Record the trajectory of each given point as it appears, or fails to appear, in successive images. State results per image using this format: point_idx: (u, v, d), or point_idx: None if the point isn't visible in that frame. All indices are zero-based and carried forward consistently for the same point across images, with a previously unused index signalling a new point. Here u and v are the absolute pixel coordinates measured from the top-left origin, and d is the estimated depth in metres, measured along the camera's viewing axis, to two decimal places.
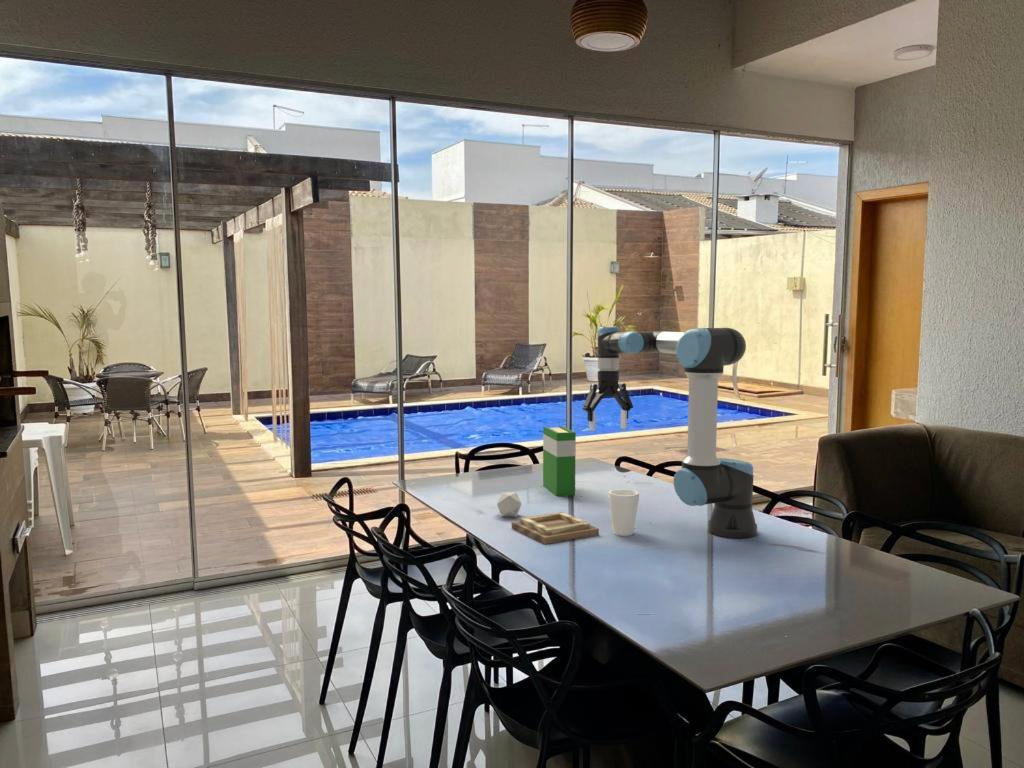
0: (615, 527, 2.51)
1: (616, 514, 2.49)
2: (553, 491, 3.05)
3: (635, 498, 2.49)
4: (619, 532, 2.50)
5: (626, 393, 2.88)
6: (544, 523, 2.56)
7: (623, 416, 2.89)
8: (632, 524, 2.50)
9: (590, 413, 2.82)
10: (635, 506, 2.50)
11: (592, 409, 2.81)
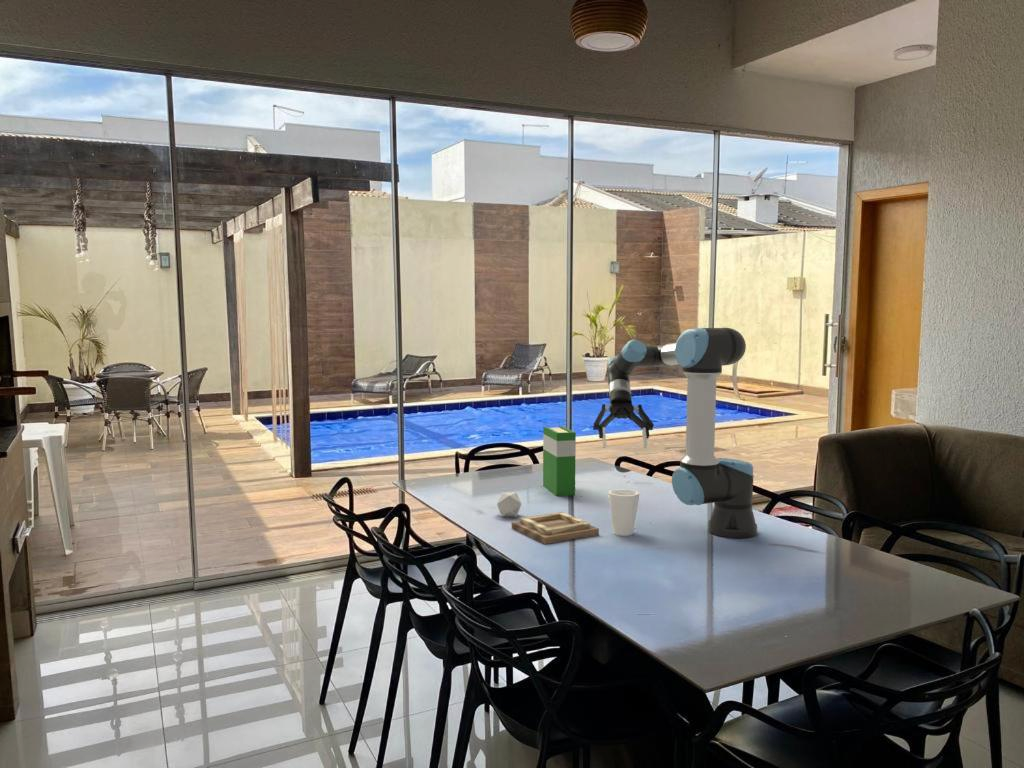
0: (615, 527, 2.51)
1: (616, 514, 2.49)
2: (553, 491, 3.05)
3: (635, 498, 2.49)
4: (619, 532, 2.50)
5: (643, 413, 2.73)
6: (544, 523, 2.56)
7: (643, 434, 2.68)
8: (632, 524, 2.50)
9: (600, 429, 2.69)
10: (635, 506, 2.50)
11: (601, 425, 2.70)
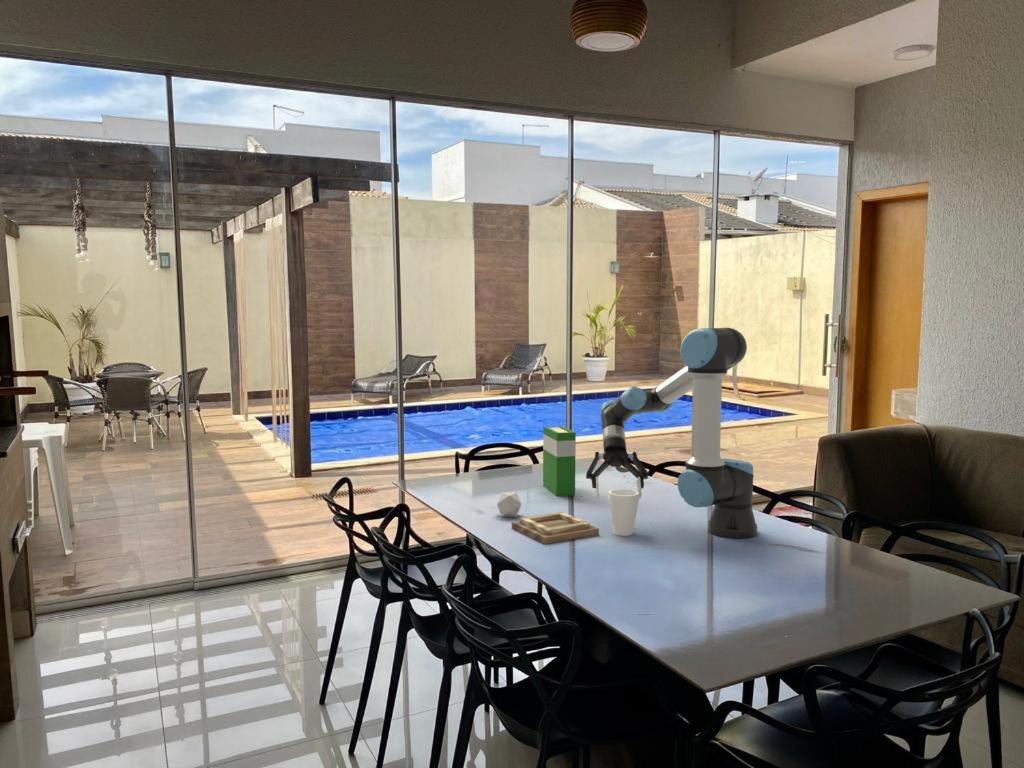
0: (615, 527, 2.51)
1: (616, 514, 2.49)
2: (553, 491, 3.05)
3: (635, 498, 2.49)
4: (619, 532, 2.50)
5: (638, 461, 2.64)
6: (544, 523, 2.56)
7: (637, 484, 2.60)
8: (632, 524, 2.50)
9: (593, 478, 2.61)
10: (635, 506, 2.50)
11: (594, 474, 2.61)
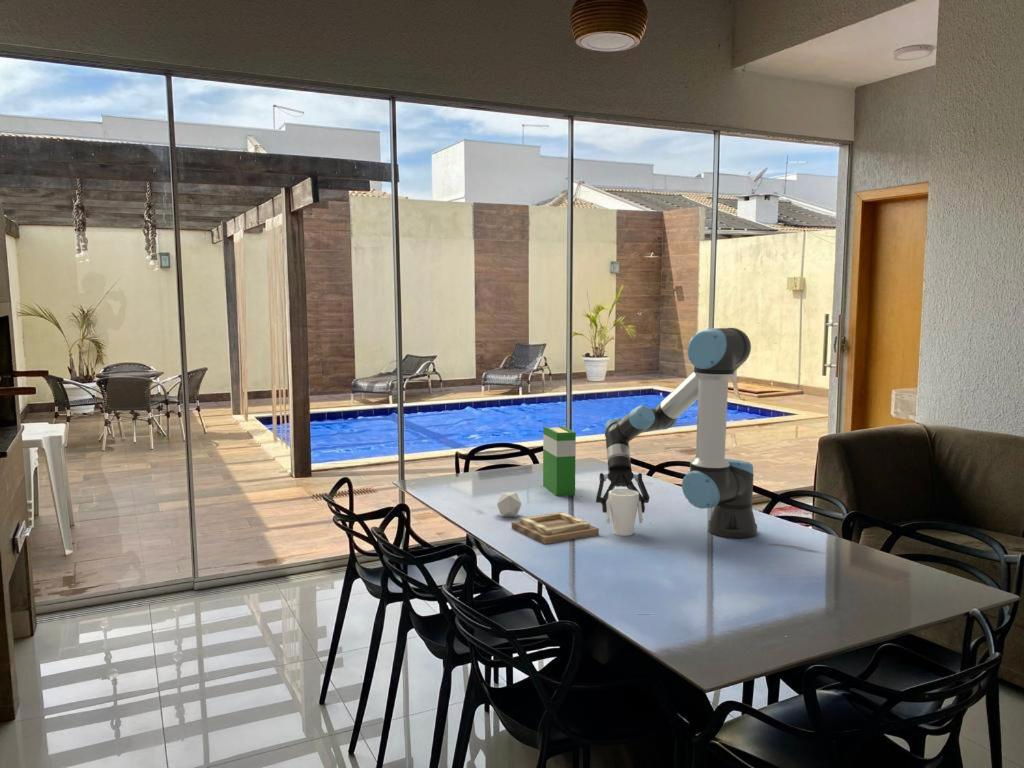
0: (615, 527, 2.51)
1: (616, 514, 2.49)
2: (553, 491, 3.05)
3: (635, 498, 2.49)
4: (619, 532, 2.50)
5: (641, 483, 2.57)
6: (544, 523, 2.56)
7: (638, 508, 2.52)
8: (632, 524, 2.50)
9: (603, 502, 2.53)
10: (635, 506, 2.50)
11: (604, 497, 2.53)
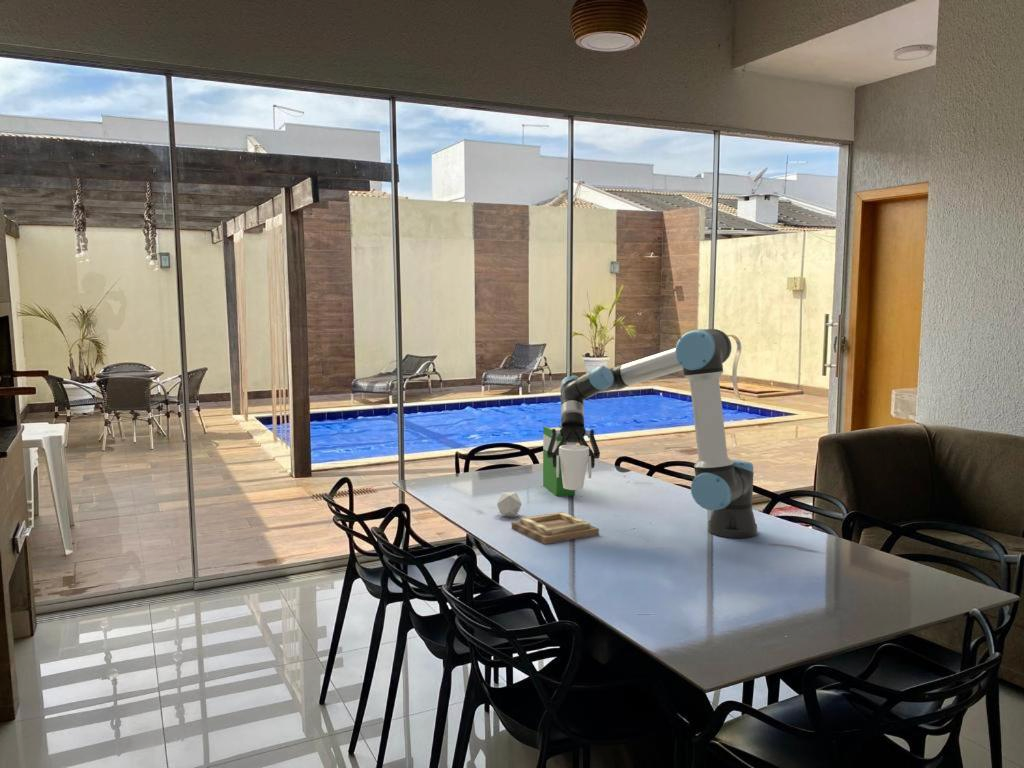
0: (565, 481, 2.52)
1: (566, 468, 2.51)
2: (553, 491, 3.05)
3: (584, 453, 2.50)
4: (568, 486, 2.52)
5: (593, 439, 2.58)
6: (544, 523, 2.56)
7: (588, 463, 2.53)
8: (581, 479, 2.52)
9: (553, 457, 2.54)
10: (584, 461, 2.51)
11: (555, 452, 2.55)
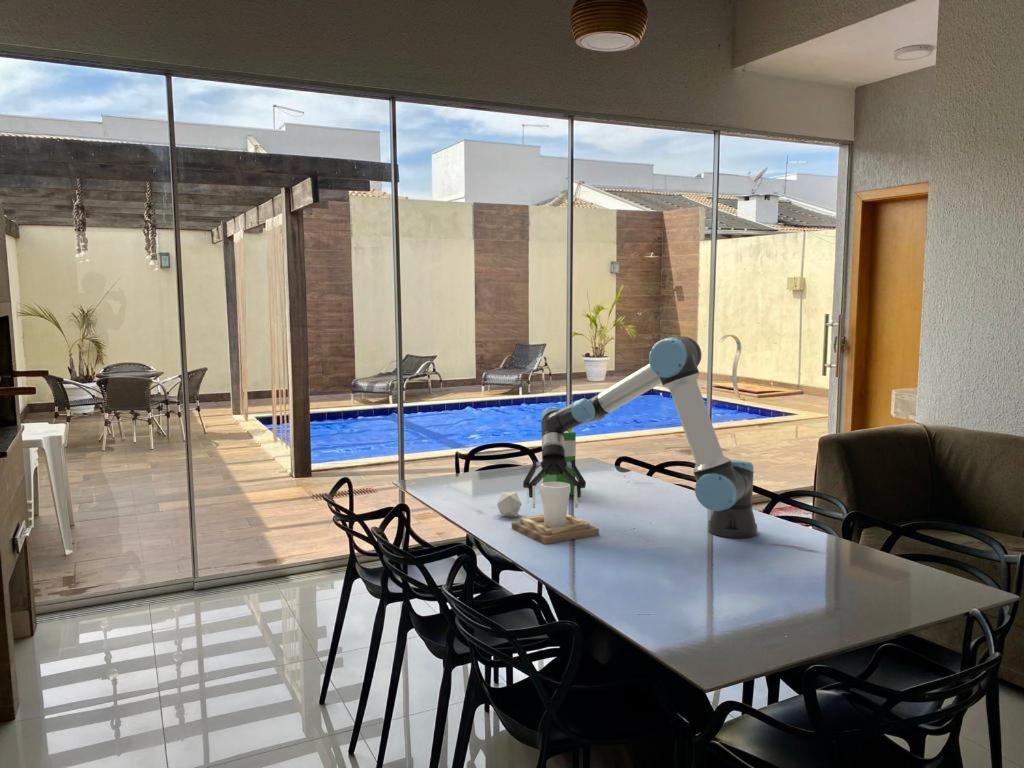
0: (546, 519, 2.52)
1: (547, 505, 2.51)
2: None
3: (565, 490, 2.50)
4: (550, 524, 2.52)
5: (576, 469, 2.59)
6: (544, 523, 2.56)
7: (574, 493, 2.54)
8: (563, 516, 2.52)
9: (529, 487, 2.55)
10: (566, 498, 2.51)
11: (531, 483, 2.55)
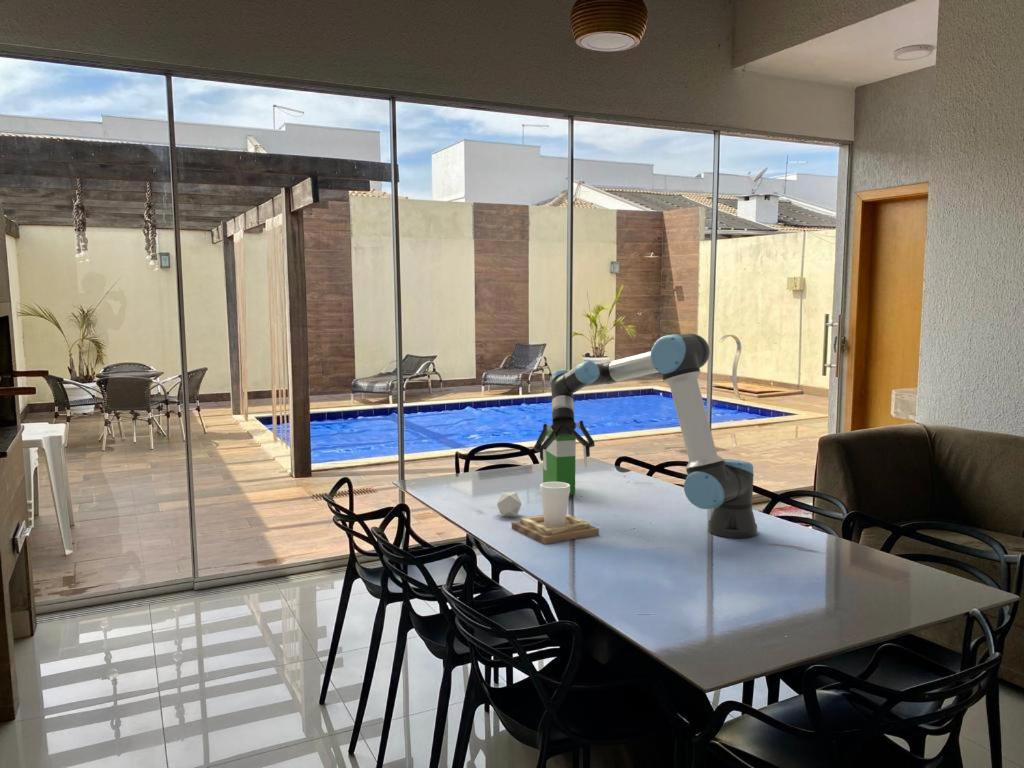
0: (546, 519, 2.52)
1: (547, 506, 2.51)
2: None
3: (565, 491, 2.50)
4: (550, 524, 2.52)
5: (584, 429, 2.71)
6: (544, 523, 2.56)
7: None
8: (563, 516, 2.52)
9: (540, 451, 2.70)
10: (566, 498, 2.51)
11: (541, 447, 2.71)
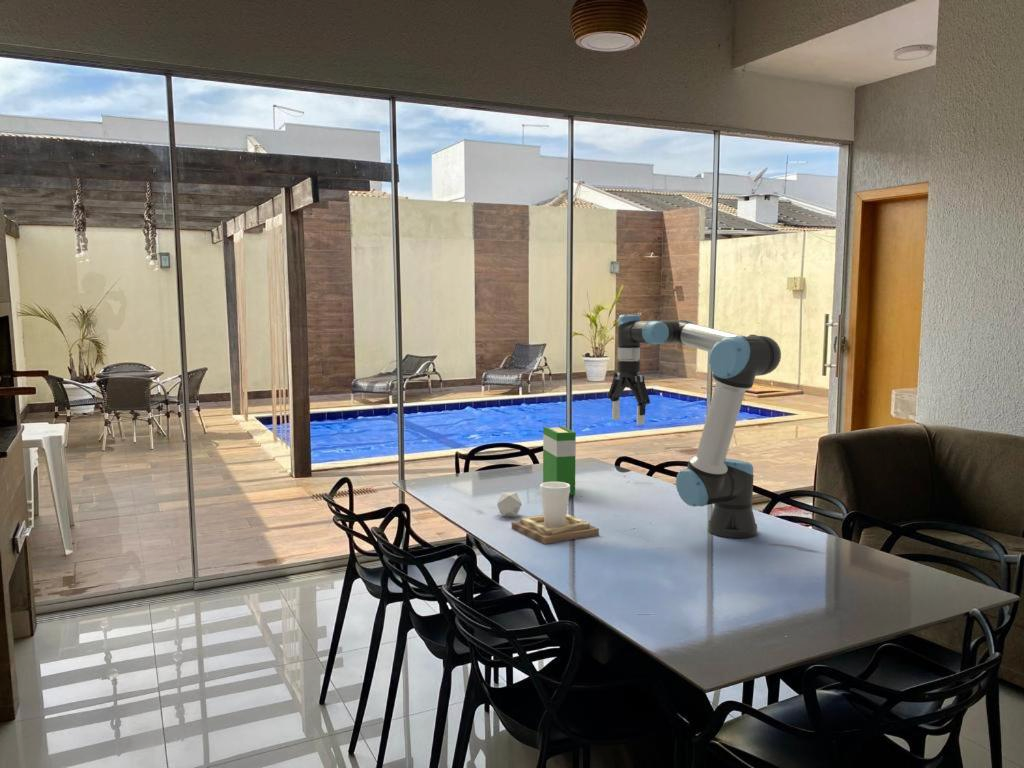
0: (546, 519, 2.52)
1: (547, 506, 2.51)
2: None
3: (565, 491, 2.50)
4: (550, 524, 2.52)
5: (638, 387, 2.66)
6: (544, 523, 2.56)
7: None
8: (563, 516, 2.52)
9: (612, 401, 2.80)
10: (566, 498, 2.51)
11: (612, 398, 2.79)
